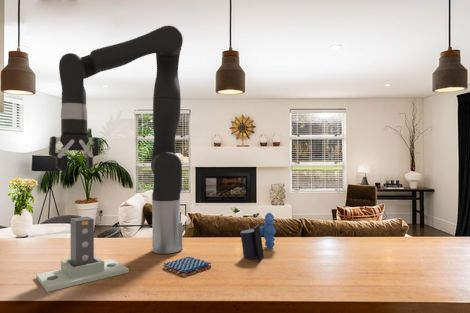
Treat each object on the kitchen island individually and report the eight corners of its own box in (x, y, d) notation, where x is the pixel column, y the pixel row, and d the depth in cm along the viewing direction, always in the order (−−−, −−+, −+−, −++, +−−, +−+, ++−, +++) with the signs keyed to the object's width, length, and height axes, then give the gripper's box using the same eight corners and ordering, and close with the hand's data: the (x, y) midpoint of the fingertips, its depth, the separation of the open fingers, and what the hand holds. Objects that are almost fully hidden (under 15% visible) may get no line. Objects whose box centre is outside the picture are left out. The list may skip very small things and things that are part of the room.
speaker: (270, 256, 104) (266, 223, 105) (259, 262, 100) (255, 227, 100) (250, 254, 109) (247, 223, 109) (240, 260, 105) (236, 227, 105)
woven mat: (189, 261, 103) (189, 254, 103) (213, 269, 96) (213, 262, 96) (160, 270, 95) (160, 262, 95) (184, 279, 88) (184, 271, 88)
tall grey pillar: (87, 266, 94) (87, 216, 94) (94, 270, 90) (93, 219, 90) (70, 269, 91) (70, 218, 91) (76, 274, 87) (76, 221, 87)
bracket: (112, 262, 101) (112, 250, 101) (128, 272, 92) (128, 259, 92) (36, 278, 88) (36, 264, 88) (46, 291, 78) (46, 277, 79)
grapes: (257, 243, 122) (257, 210, 122) (275, 243, 122) (275, 210, 122) (257, 252, 110) (256, 216, 110) (277, 252, 110) (277, 216, 110)
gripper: (52, 116, 99) (53, 171, 99) (101, 119, 108) (101, 169, 108) (46, 118, 104) (46, 170, 104) (93, 121, 114) (93, 168, 114)
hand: (74, 169), depth 106 cm, fingers open, 8 cm apart
